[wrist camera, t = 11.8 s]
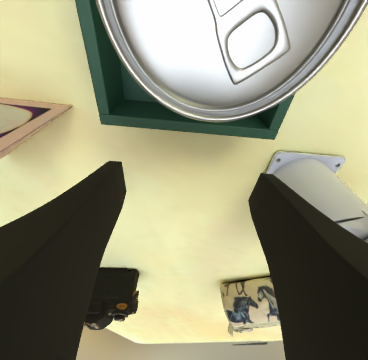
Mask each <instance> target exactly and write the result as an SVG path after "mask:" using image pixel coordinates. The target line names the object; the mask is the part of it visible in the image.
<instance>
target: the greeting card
mask: <svg viewBox="0 0 368 360" xmlns="http://www.w3.org/2000/svg"><path fill="white" fill-rule="evenodd" d="M71 107H72V105H63V104H53V103H44V102H35V101H25V100H16V99H7V98H0V159H1V158H3V157H4V156H6V155H7V154H8V153H10V152H11V151H12V150H14V149H15V148H17V147H18V146H19V145H21V144H22V143H23V142H25V141H26V140H27V139H29V138H30V137H31V136H33V135H34V134H35V133H37V132H38V131H40V130H41V129H42V128H44V127H45V126H46V125H48V124H49V123H50V122H52V121H53V120H54V119H56V118H57V117H58V116H60V115H61V114H62V113H64V112H65V111H67V110H68V109H69V108H71Z"/></svg>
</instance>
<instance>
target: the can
mask: <svg viewBox="0 0 368 360" xmlns="http://www.w3.org/2000/svg"><path fill="white" fill-rule="evenodd" d="M96 4H97V7H98V10H99V13H100V16H101V19H102V22H103V24H104V27H105V29H106V32H107V34H108V36H109V38H110V41H111V43H112V45H113V47H114V49H115V50H116V52H117V54H118V56H119V58H120V59H121V61H122V62H123V64H124V66H125V67H126V68H127V70H128V71H129V73H130V74H131V75H132V77H133V78H134V79H135V80H136V82H137V83H138V84H139V85H140V86H141V87H142V88H143V89H144V90H145V91H146V92H147V93H148V94H149V95H150V96H151V97H153V98H154V99H155V100H156V101H158V102H159V103H160V104H162V105H163V106H165V107H166V108H168V109H170V110H172V111H174V112H176V113H178V114H180V115H182V116H185V117H188V118H191V119H195V120H200V121H206V122H229V121H236V120H240V119H245V118H248V117H251V116H254V115H257V114H259V113H262V112H264V111H266V110H268V109H270V108H272V107H274V106H276V105H277V104H279V103H281V102H282V101H284V100H286V99H287V98H288V97H290V96H291V95H293V94H294V93H295V92H297V91H298V90H299V89H300V88H302V87H303V86H304V85H305V84H306V83H307V82H308V81H310V80H311V79H312V78H313V77H314V76H315V75H316V74H317V73H318V72H319V71H320V70H321V69H322V68H323V67H324V65H325V64H326V63H327V62H328V61H329V60H330V59H331V57H332V56H333V55H334V54H335V53H336V51H337V50H338V49H339V47H340V46H341V45H342V44H343V42H344V41H345V39H346V38H347V37H348V35H349V34H350V32H351V31H352V29H353V28H354V26H355V25H356V23H357V21H358V20H359V18H360V16H361V15H362V13H363V11H364V10H365V8H366V6H367V4H368V0H96Z"/></svg>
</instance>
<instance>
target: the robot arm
mask: <svg viewBox="0 0 368 360" xmlns="http://www.w3.org/2000/svg"><path fill="white" fill-rule="evenodd" d="M278 158H279V159H278ZM276 159H278V160H276ZM344 162H345V158H344V157H342V156H332V155H320V154H309V153H297V152H286V151H278V152H276V153H275V155H274V157H273V159H272V161H271V163H270V165H269V167H268V169H267V171H266V173H261V174H260V176H259V178H258V181H257V183H256V185H255V187H254V189H253V192H252V194H251V196H250V198H249V200H248V201H249V206H250V212H251V216H252V220H253V223H254V226H255V229H256V231H257V234H258V237H259V240H260V243H261V246H262V248H263V251H264V254H265V257H266V260H267V264H268V267H269V272H270V276H271V280H272V284H273V289H274V293H275V298H276V303H277V308H278V313H279V319H280V325H281V330H282V337H283V344H284V351H285V357H286V360H368V205H367V204H366V203H365V202H364V201H363V200H362V199H361V198H359V197H358V196H357V195H356V194H355V193H354V192H353V191H352V190H351V189H350V188H349V187H348V186H347V185H346V184H345V183H344V182H343V181H342V180H341V179H340V178H339V177H338V176H337V175H336V174H335V173H336V172H337V171H338V170H339V168H340V167H341V166H342V165H343V163H344ZM336 164H337V165H336ZM125 195H126V186H125V180H124V173H123V167H122V162H117V161H109V162H107V163H106V164H104V165H103V166H101V167H100V168H99V169H97V170H96V171H95V172H93V173H92V174H90V175H89V176H88V177H86V178H85V179H83V180H82V181H81V182H79V183H78V184H76V185H75V186H73V187H72V188H70V189H69V190H67V191H66V192H64V193H63V194H61V195H59V196H58V197H56V198H55V199H53V200H51V201H50V202H48V203H46V204H45V205H43V206H41V207H39V208H37V209H36V210H34V211H32V212H30V213H28V214H26V215H24V216H22V217H20V218H18V219H16V220H14V221H12V222H10V223H8V224H6V225H4V226H2V227H0V360H76V356H77V351H78V347H79V342H80V338H81V333H82V330H83V325H84V321H85V317H86V314H87V310H88V306H89V302H90V298H91V294H92V291H93V287H94V284H95V280H96V277H97V273H98V270H99V267H100V263H101V260H102V257H103V254H104V251H105V248H106V246H107V243H108V241H109V239H110V236H111V234H112V231H113V229H114V227H115V224H116V222H117V219H118V217H119V214H120V212H121V209H122V206H123V203H124V199H125Z"/></svg>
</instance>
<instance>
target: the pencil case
mask: <svg viewBox="0 0 368 360" xmlns="http://www.w3.org/2000/svg"><path fill="white" fill-rule="evenodd" d="M220 291H221V297H222V303H223V307H224V310H225V314H226V316H227V319H228V321H229V327H228V332H229V334H230V335H231V336H233V330H234V331H235V332H240V333H242V332H243V331H252V330H253V328H264V327H271V326H276V325H280V319H279V313H278V308H277V303H276V298H275V293H274V289H273V284H272V280H271V277H267V278H259V279H252V280H248V281H243V282H235V283H228V284H222V285H221V286H220Z"/></svg>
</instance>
